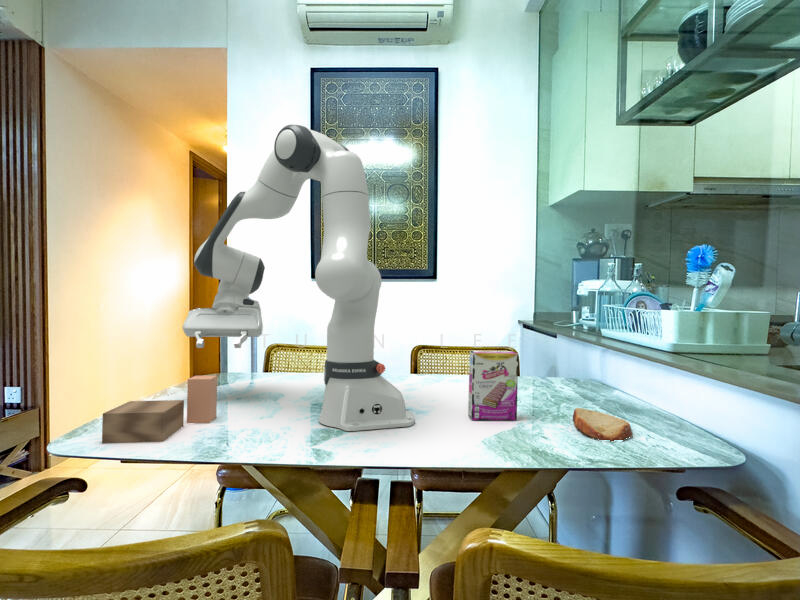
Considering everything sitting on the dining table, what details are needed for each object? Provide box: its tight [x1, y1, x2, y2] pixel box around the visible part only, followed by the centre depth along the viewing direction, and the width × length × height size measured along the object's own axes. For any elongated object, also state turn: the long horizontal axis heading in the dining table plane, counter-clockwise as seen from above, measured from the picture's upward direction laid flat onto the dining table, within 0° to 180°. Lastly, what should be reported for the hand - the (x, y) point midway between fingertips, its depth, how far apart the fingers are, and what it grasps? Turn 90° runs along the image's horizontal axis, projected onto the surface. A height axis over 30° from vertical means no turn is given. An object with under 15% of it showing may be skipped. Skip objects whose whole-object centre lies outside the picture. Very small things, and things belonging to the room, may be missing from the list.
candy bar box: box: [467, 350, 519, 421], centre depth 104 cm, size 11×5×16 cm, turn 92°
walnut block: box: [101, 399, 185, 445], centre depth 88 cm, size 11×11×6 cm
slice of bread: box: [572, 407, 633, 441], centre depth 98 cm, size 18×18×4 cm
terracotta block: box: [186, 375, 218, 424], centre depth 99 cm, size 5×5×10 cm
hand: (218, 346), depth 112 cm, fingers open, 8 cm apart
